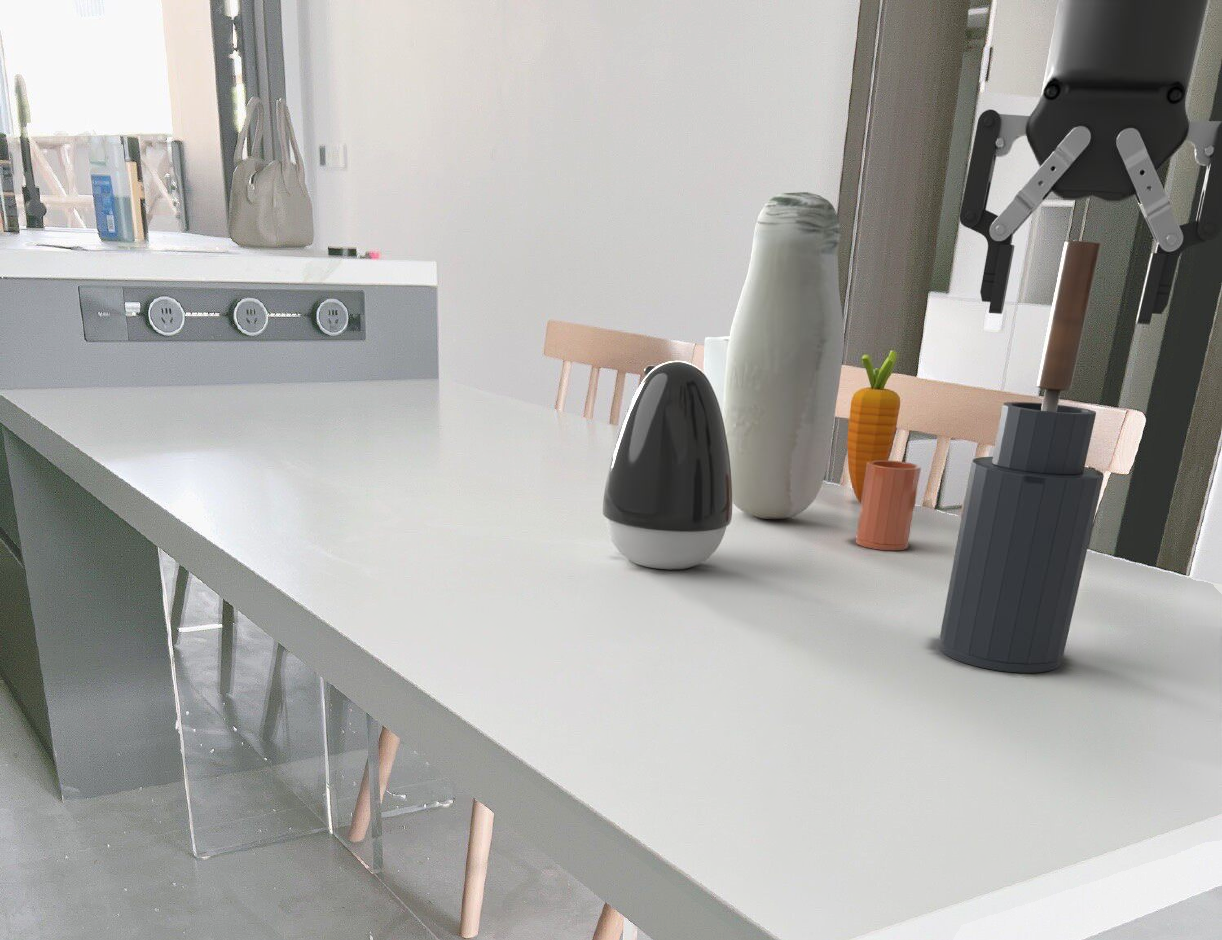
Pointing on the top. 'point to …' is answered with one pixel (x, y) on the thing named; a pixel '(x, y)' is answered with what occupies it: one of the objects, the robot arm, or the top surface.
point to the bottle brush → (1067, 320)
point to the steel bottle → (1023, 542)
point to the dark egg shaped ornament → (670, 472)
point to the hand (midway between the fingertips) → (1067, 318)
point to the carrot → (871, 422)
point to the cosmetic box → (716, 365)
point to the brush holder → (887, 504)
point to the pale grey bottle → (785, 359)
